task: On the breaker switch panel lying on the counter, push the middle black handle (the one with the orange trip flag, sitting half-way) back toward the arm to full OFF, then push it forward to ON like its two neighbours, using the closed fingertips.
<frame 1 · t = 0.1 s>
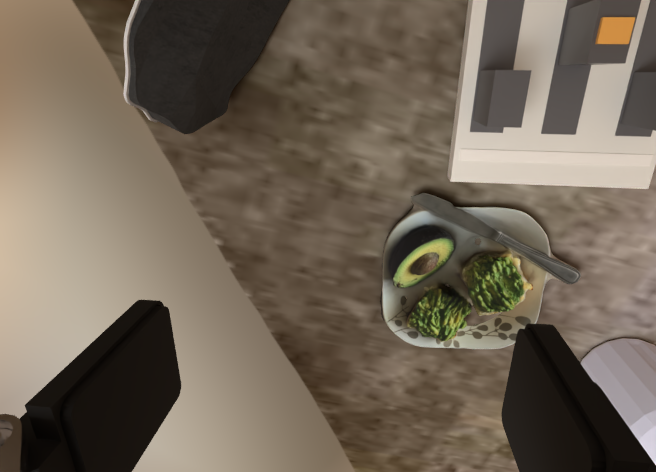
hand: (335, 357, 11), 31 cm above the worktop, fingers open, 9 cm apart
salad plate: (454, 272, 44), on the worktop
tripped breaker: (596, 34, 30), point 5 cm above the worktop, slide at 0.0 cm
breaker switch panel: (567, 39, 34), on the worktop
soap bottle: (618, 369, 45), on the worktop
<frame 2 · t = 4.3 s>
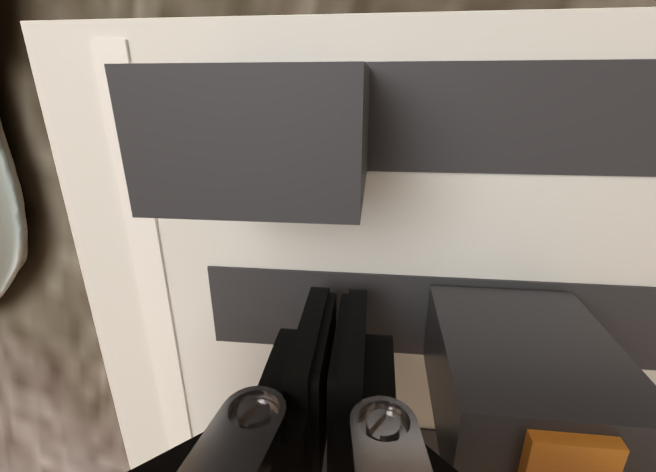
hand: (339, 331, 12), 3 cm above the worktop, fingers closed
tripped breaker: (522, 386, 10), point 5 cm above the worktop, slide at -1.5 cm, touching gripper
breaker switch panel: (434, 286, 15), on the worktop
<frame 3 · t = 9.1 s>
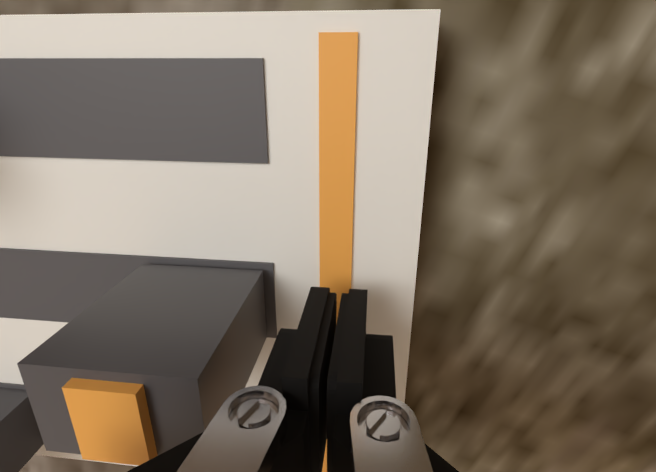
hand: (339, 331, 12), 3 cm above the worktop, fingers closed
tripped breaker: (167, 350, 11), point 5 cm above the worktop, slide at -5.2 cm, touching gripper
breaker switch panel: (102, 263, 16), on the worktop
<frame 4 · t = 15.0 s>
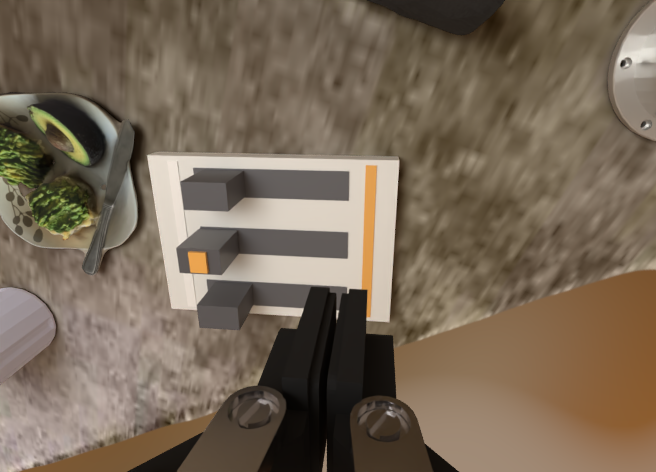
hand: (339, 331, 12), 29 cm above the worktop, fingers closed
salad plate: (70, 168, 44), on the worktop
tripped breaker: (209, 251, 39), point 5 cm above the worktop, slide at 5.6 cm
breaker switch panel: (278, 235, 43), on the worktop
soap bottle: (24, 316, 51), on the worktop
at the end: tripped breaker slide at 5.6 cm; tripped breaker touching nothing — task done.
